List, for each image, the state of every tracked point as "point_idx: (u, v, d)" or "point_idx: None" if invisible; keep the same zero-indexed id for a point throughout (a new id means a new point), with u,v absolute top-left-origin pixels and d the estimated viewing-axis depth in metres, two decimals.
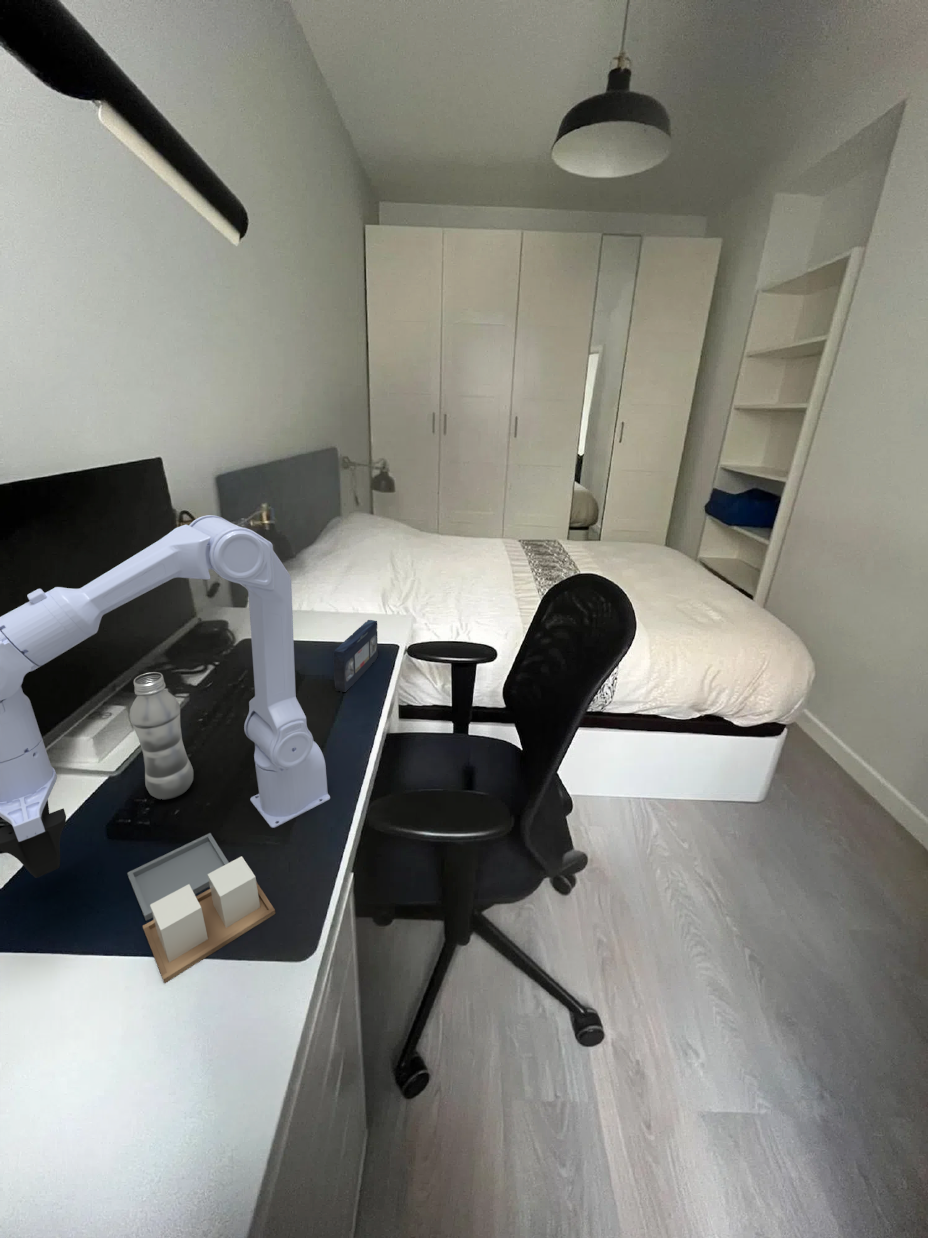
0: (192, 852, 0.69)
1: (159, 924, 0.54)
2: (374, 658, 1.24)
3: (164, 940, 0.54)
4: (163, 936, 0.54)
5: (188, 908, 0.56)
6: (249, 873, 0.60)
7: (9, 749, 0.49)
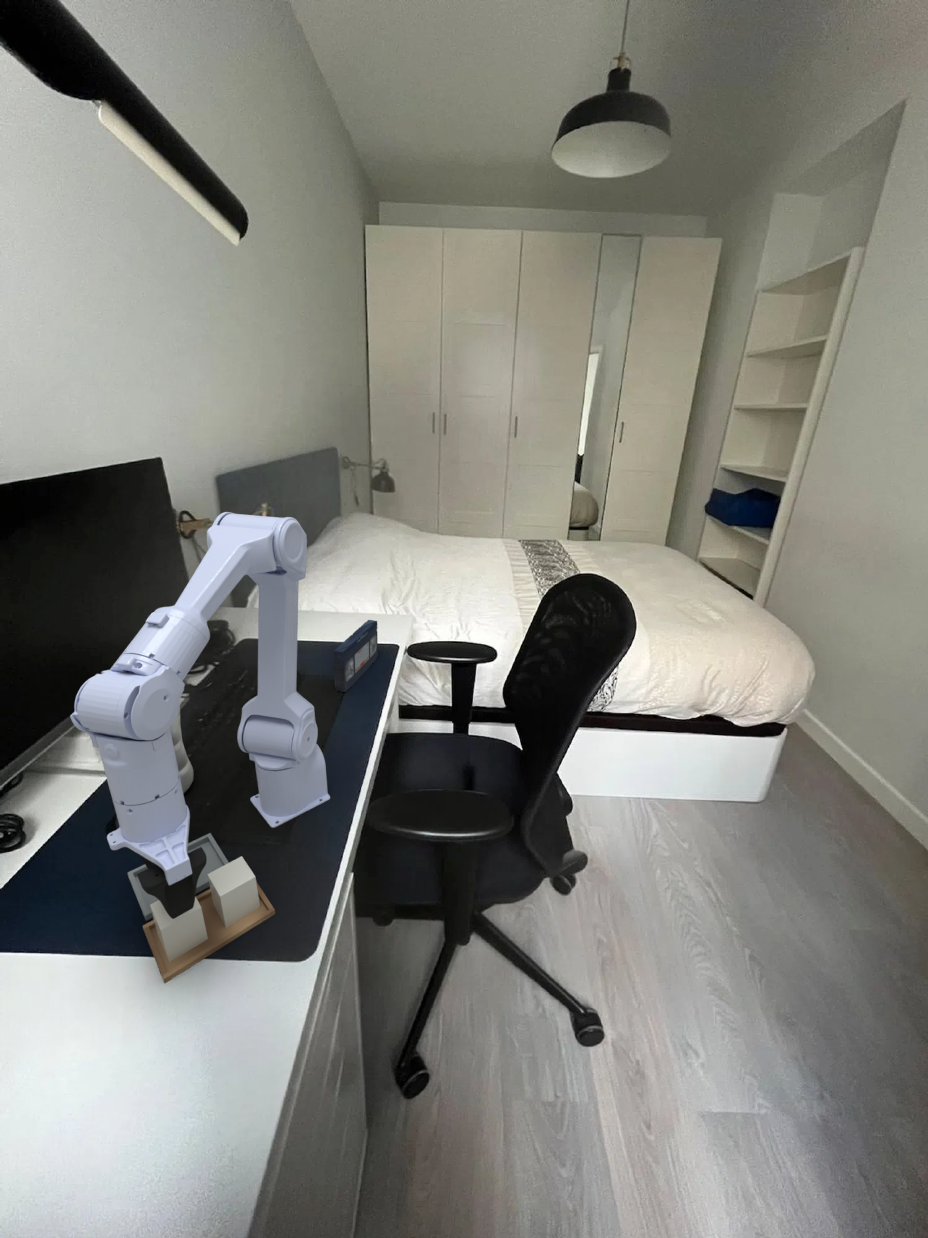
0: None
1: (159, 924, 0.54)
2: (374, 658, 1.24)
3: (164, 940, 0.54)
4: (163, 936, 0.54)
5: None
6: (249, 873, 0.60)
7: (172, 778, 0.49)
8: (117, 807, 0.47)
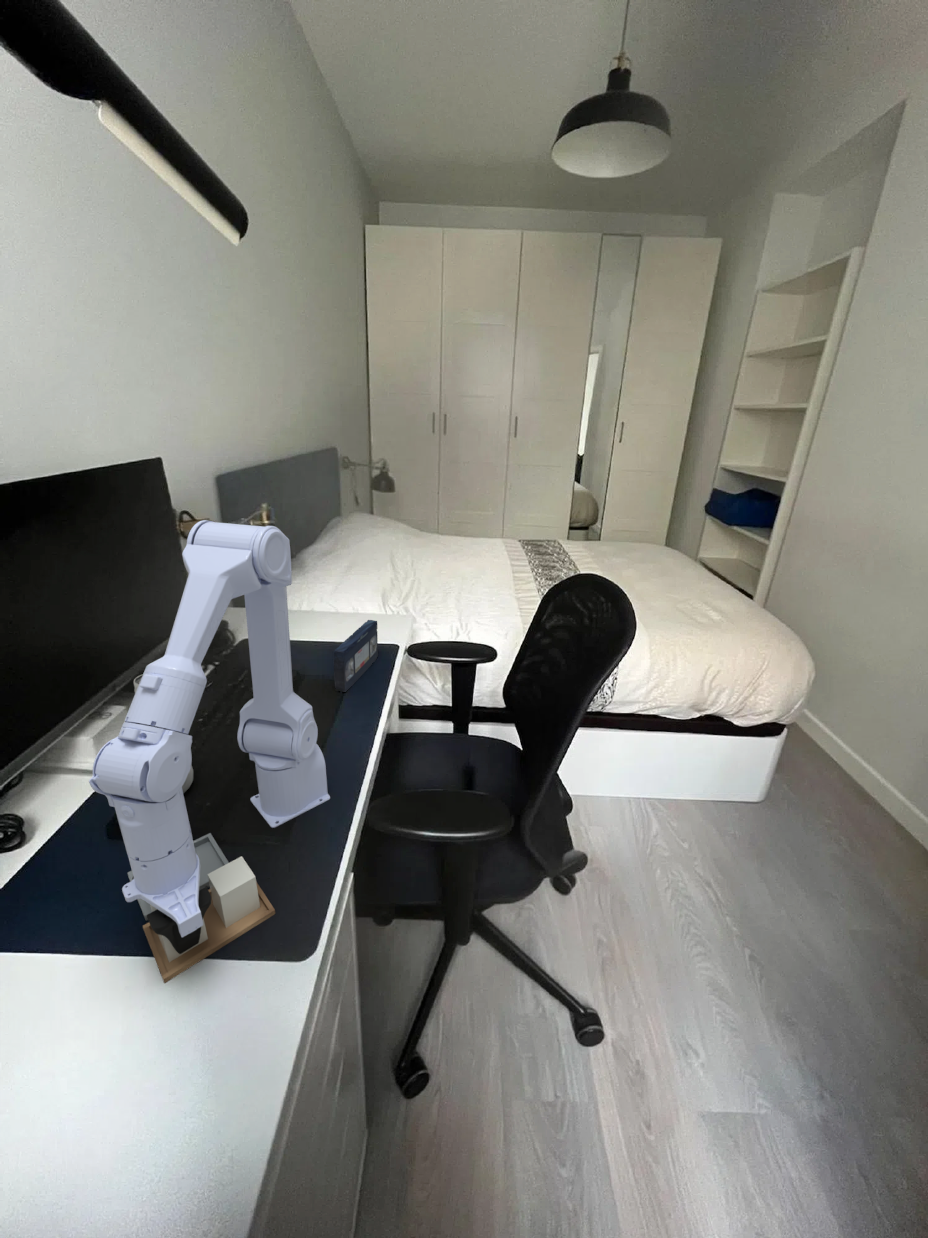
0: None
1: None
2: (374, 658, 1.24)
3: (164, 940, 0.54)
4: (163, 936, 0.54)
5: None
6: (249, 873, 0.60)
7: (184, 833, 0.52)
8: (132, 862, 0.50)
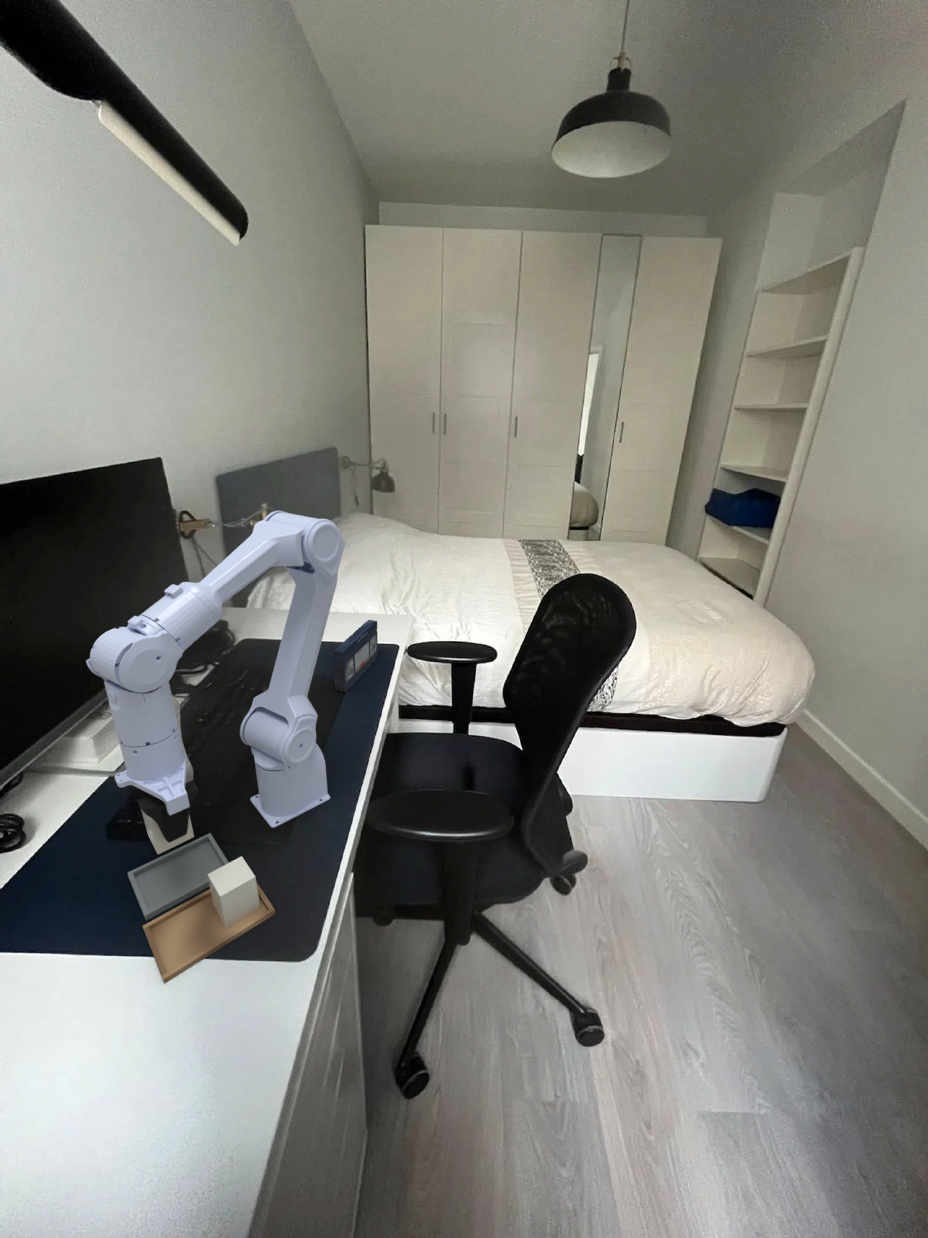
0: (192, 852, 0.69)
1: (148, 817, 0.58)
2: (374, 658, 1.24)
3: (153, 832, 0.58)
4: (152, 828, 0.58)
5: None
6: (249, 873, 0.60)
7: (164, 729, 0.55)
8: (123, 749, 0.55)
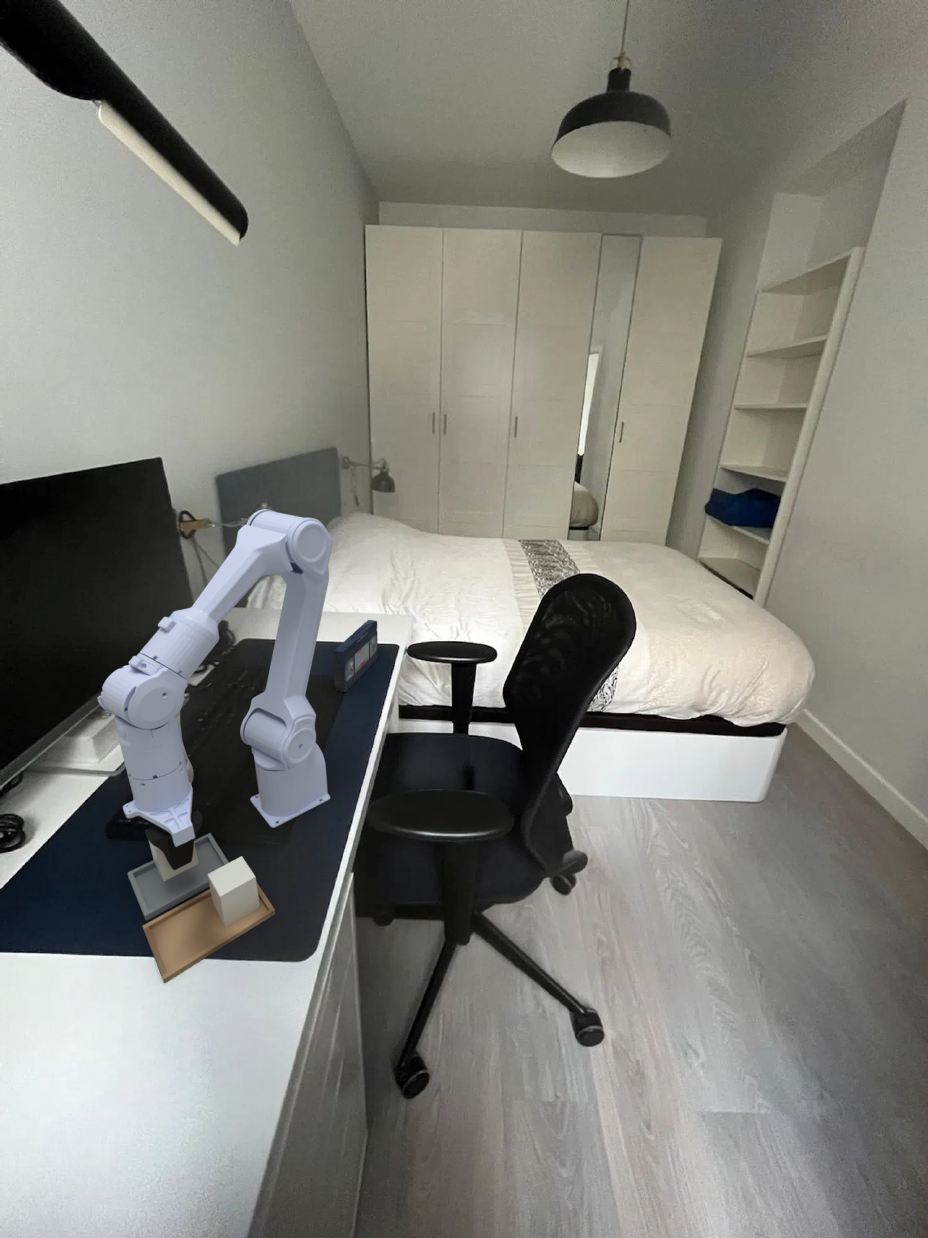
0: None
1: (154, 846, 0.60)
2: (374, 658, 1.24)
3: (159, 860, 0.60)
4: (158, 856, 0.60)
5: None
6: (249, 873, 0.60)
7: (170, 763, 0.57)
8: (132, 782, 0.57)
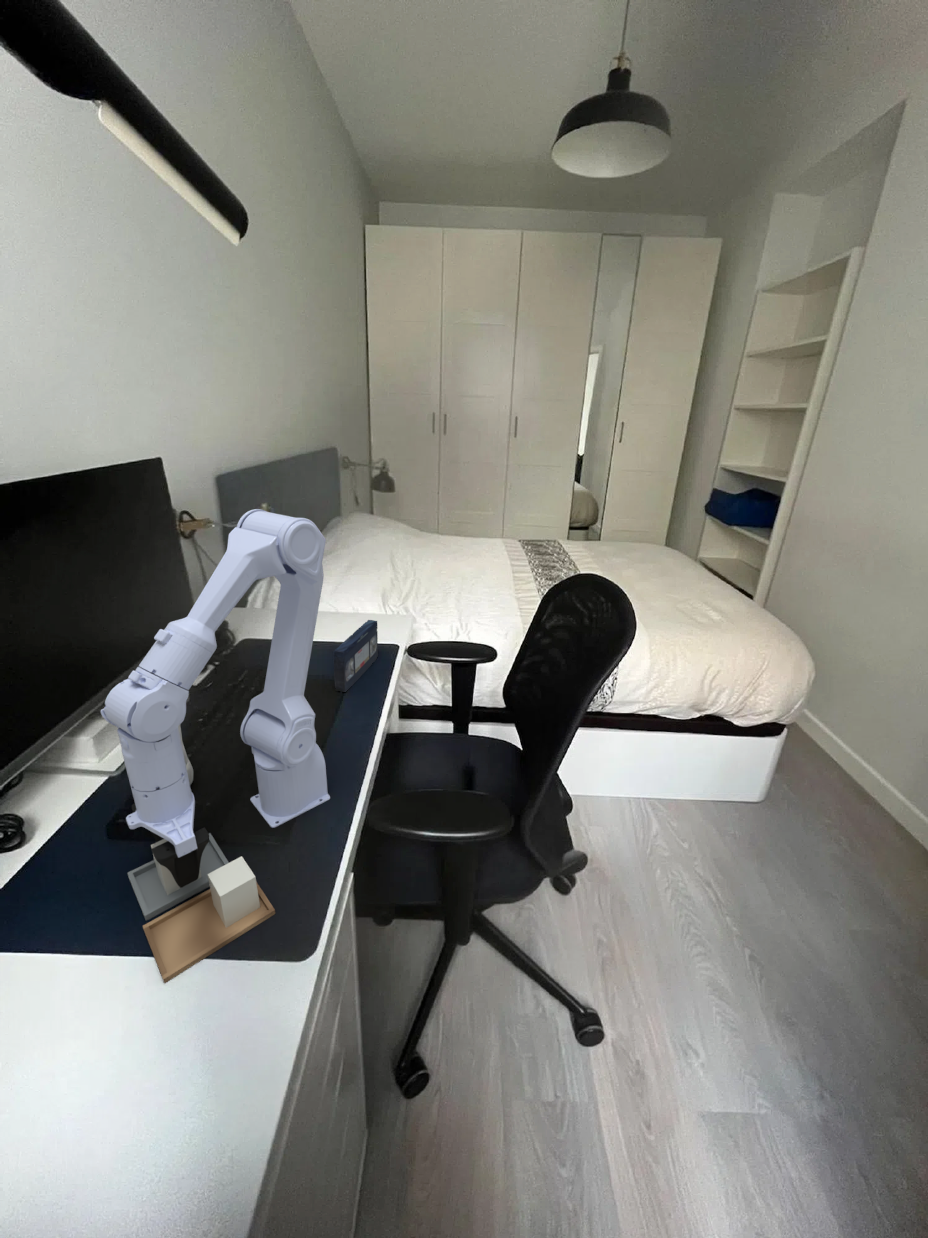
0: None
1: None
2: (374, 658, 1.24)
3: (163, 874, 0.61)
4: (162, 870, 0.61)
5: None
6: (249, 873, 0.60)
7: (173, 774, 0.58)
8: (135, 793, 0.57)
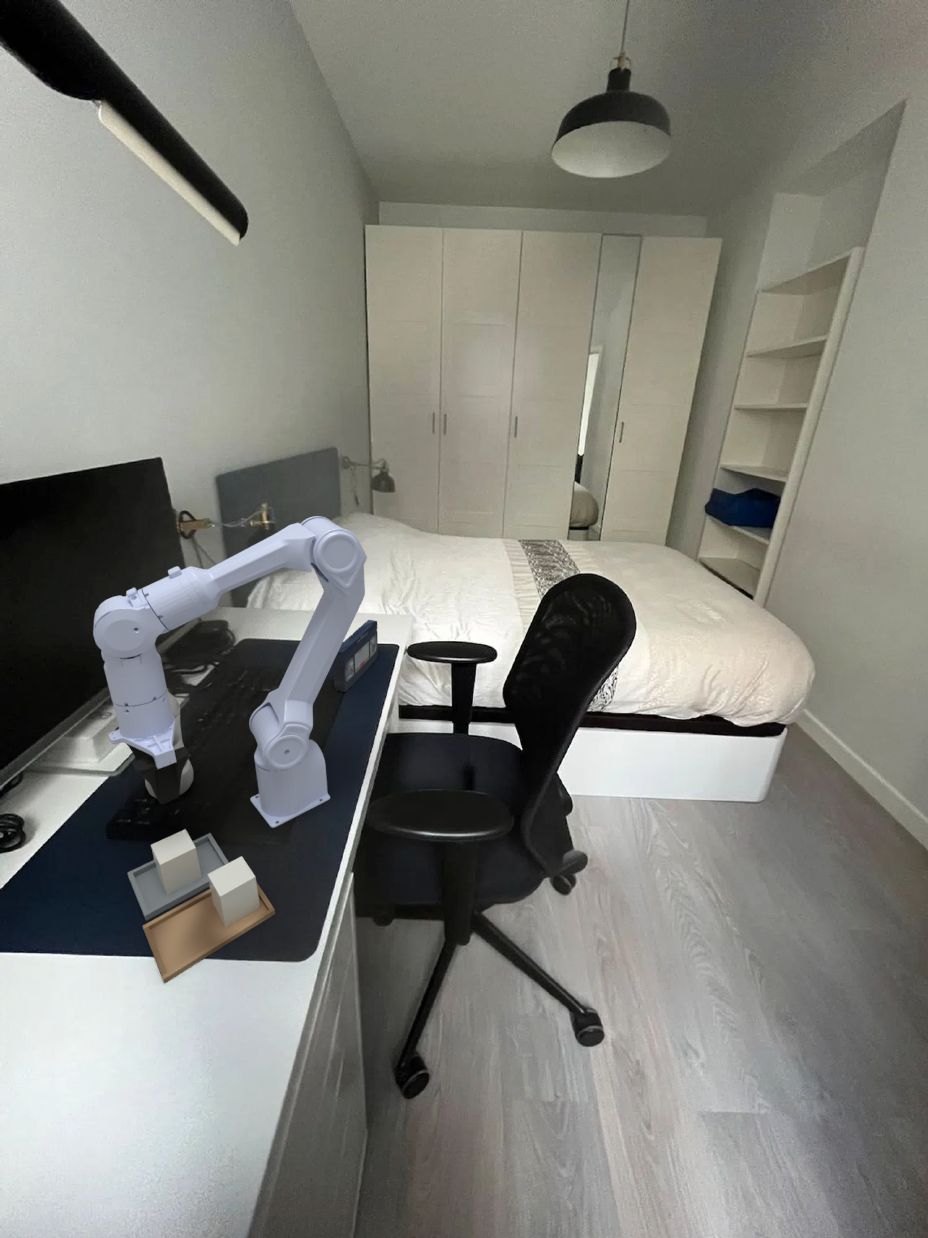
0: None
1: (158, 860, 0.61)
2: (374, 658, 1.24)
3: (163, 874, 0.61)
4: (162, 870, 0.61)
5: (184, 848, 0.63)
6: (249, 873, 0.60)
7: (142, 695, 0.59)
8: (116, 708, 0.60)
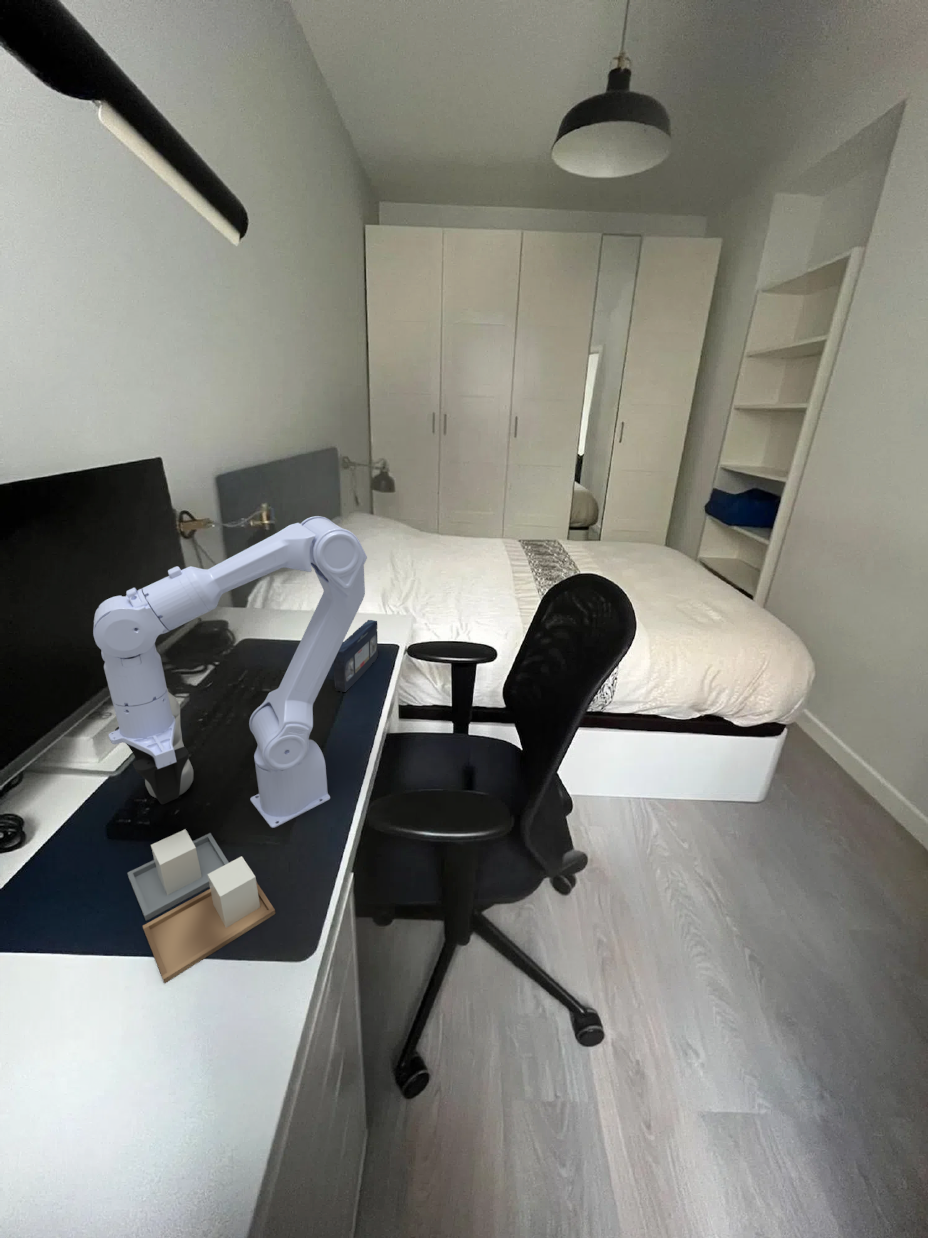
0: None
1: (158, 860, 0.61)
2: (374, 658, 1.24)
3: (163, 874, 0.61)
4: (162, 870, 0.61)
5: (184, 848, 0.63)
6: (249, 873, 0.60)
7: (142, 695, 0.59)
8: (116, 708, 0.60)
